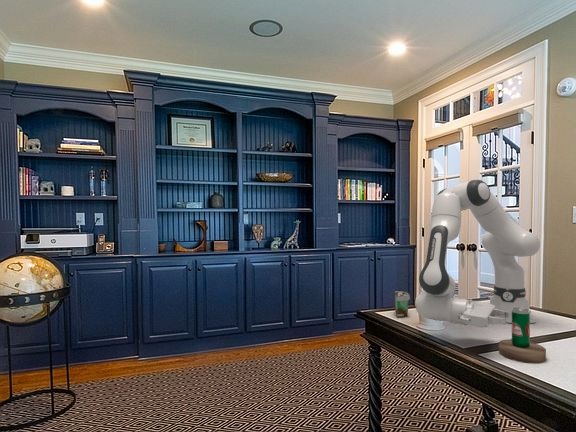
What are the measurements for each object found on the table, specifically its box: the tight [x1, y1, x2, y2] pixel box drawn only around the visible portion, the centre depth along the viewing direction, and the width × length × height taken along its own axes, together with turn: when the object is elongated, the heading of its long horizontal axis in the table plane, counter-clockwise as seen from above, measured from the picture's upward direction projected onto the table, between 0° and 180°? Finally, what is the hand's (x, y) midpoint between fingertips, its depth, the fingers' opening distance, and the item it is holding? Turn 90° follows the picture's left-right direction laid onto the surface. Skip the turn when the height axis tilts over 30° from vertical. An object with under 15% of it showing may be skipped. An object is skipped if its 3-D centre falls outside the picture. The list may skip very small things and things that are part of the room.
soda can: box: [511, 307, 531, 348], centre depth 122 cm, size 5×5×12 cm
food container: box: [394, 290, 411, 319], centre depth 170 cm, size 12×6×10 cm, turn 168°
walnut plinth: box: [498, 338, 547, 364], centre depth 122 cm, size 13×13×3 cm
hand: (507, 318), depth 124 cm, fingers open, 8 cm apart
